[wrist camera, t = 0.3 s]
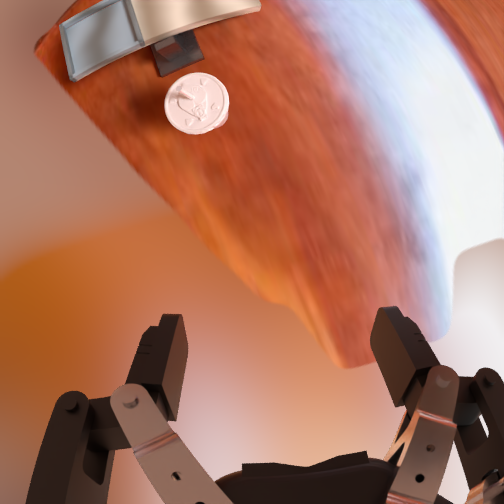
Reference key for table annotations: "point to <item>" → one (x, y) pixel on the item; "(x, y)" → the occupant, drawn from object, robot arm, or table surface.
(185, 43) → the pivot stand
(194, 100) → the smoothie
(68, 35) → the balance beam
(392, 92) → the table surface
